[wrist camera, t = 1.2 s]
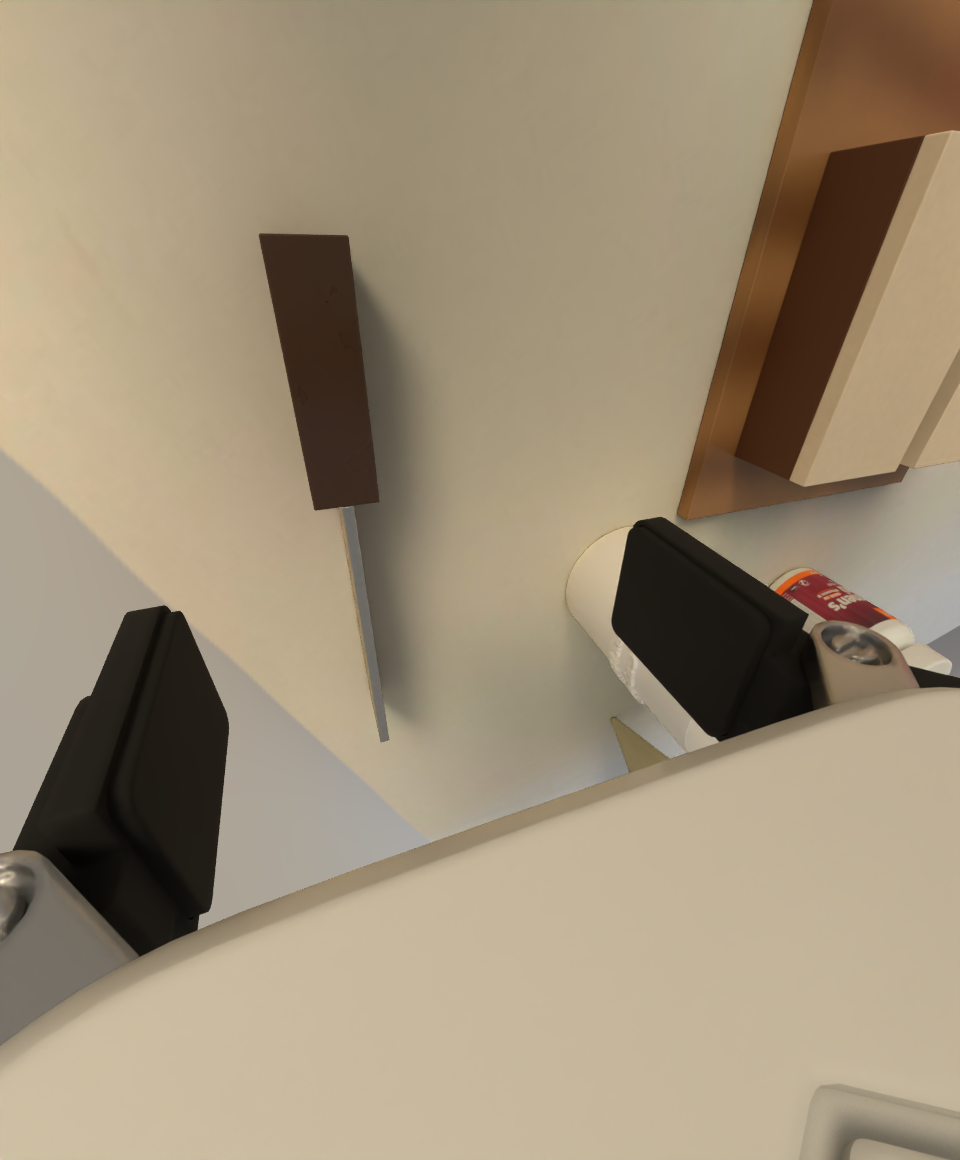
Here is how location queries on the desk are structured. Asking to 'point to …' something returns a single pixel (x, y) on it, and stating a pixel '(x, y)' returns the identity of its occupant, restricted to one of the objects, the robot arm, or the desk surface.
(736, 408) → the cake board
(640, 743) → the ice cream cone
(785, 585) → the pill bottle
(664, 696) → the mug
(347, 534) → the knife
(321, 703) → the desk surface
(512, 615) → the desk surface
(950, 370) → the cake
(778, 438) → the cake
